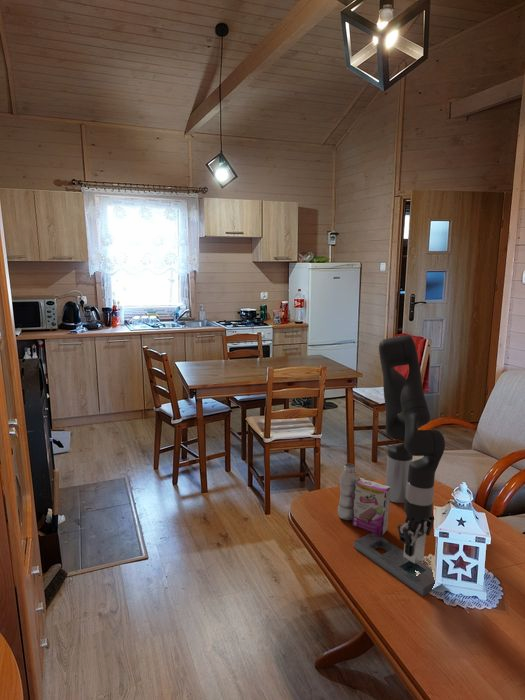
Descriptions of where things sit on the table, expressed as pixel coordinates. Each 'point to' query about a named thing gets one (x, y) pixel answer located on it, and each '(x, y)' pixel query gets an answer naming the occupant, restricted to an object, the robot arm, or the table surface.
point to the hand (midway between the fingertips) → (413, 552)
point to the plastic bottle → (347, 492)
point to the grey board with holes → (396, 563)
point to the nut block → (417, 548)
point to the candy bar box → (371, 506)
